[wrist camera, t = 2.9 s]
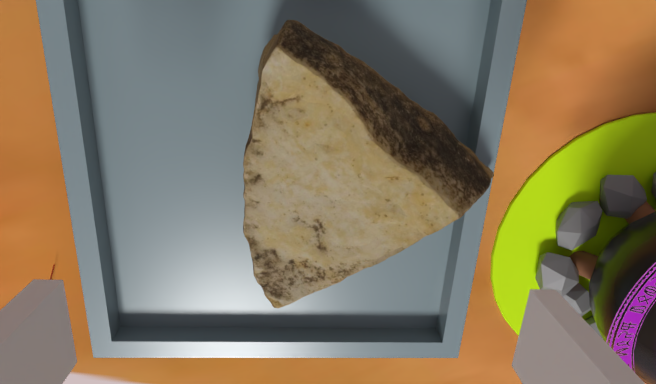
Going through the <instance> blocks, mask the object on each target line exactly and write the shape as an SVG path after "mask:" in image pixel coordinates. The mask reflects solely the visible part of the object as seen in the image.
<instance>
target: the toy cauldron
mask: <svg viewBox="0 0 656 384" xmlns="http://www.w3.org/2000/svg"><path fill="white" fill-rule="evenodd" d="M491 282H492V287H493V292H494V297H495V301H496V303H497V305H498V307H499V309H500V311H501V313H502V315H503V318H504V319H505V320H506V321H507V323H508V324H509V325H510V326H511V328H512V329H513V330H514V331H515V332H516V334H517V335H518V336H519V333H520V329H521V325H522V321H523V317H524V313H525V308H526V304H527V300H528V296H529V292H530V289H542V290H556V291H557V292H558V293H559V294H560V295H561V296H562V297H563V298H564V299H565V300H566V301H567V302H568V303H569V304H570V305H571V306H572V308H573V309H574V310H575V311H576V312H577V313H578V314H579V315H580V316H581V317H582V318H583V319H584V320H585V321H586V322H587V323H588V324H589V325H590V326H591V327H592V328H593V330H594V331H595V332H596V333H597V334H598V335H599V336H600V337H601V338H602V339H603V340H604V341H605V342H606V343H607V344H608V345H609V346H610V347H611V348H612V349H613V350H614V352H615V353H616V354H617V355H618V356H619V357H620V358H621V359H622V360H623V361H624V362H625V363H626V364H627V365H628V366H629V367H630V368H631V369H632V370H633V371H634V372H635V374H636V375H637V376H638V377H639V378H640V379H641V380H642V381H643V382H644V383H646V384H656V113H647V114H638V115H632V116H629V117H625V118H622V119H619V120H615V121H612V122H609V123H605V124H603V125H601V126H599V127H597V128H595V129H593V130H591V131H589V132H587V133H585V134H583V135H581V136H579V137H577V138H575V139H573V140H572V141H571V142H569V143H568V144H566V145H565V146H564V147H562V148H561V149H560V150H558V151H557V152H555V153H554V154H553V155H551V156H550V157H549V158H548V159H547V160H546V161H545V162H544V163H543V164H542V165H541V166H540V167H539V168H538V169H537V170H536V171H535V172H534V173H533V174H532V175H531V176H530V177H529V178H528V179H527V180H526V181H525V183H524V184H523V186H522V187H521V188H520V190H519V191H518V193H517V194H516V195H515V197H514V198H513V200H512V201H511V202H510V204H509V206H508V208H507V210H506V212H505V215H504V217H503V219H502V221H501V223H500V225H499V227H498V230H497V234H496V238H495V242H494V246H493V250H492V254H491Z"/></svg>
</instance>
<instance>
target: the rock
mask: <svg viewBox="0 0 656 384" xmlns="http://www.w3.org/2000/svg"><path fill="white" fill-rule="evenodd" d="M258 77H259V81H258V84H257V91H256V98H255V109H254V115H253V120H252V126H251V130H250V134H249V138H248V141H247V144H246V146H245V152H244V160H243V167H244V174H243V179H244V192H243V198H244V201H245V207H244V221H243V233H244V236H245V238H246V239H247V241H248V243H249V247H250V252H251V257H252V262H253V272H254V277H255V278H256V281H257V283H258V284H259V285H260V286H261V287H262V289H263V291H264V295H265V296H266V298H267V299H268V300H269V301H270V302H271V304H272V306H273V307H274V308H281V307H283V306H286V305H289V304H291V303H293V302H295V301H297V300H299V299H301V298H303V297H305V296H307V295H310V294H312V293H314V292H317V291H320V290H322V289H325V288H327V287H329V286H332V285H334V284H337V283H339V282H341V281H342V280H344V279H345V278H346V277H348V276H351V275H353V274H355V273H357V272H359V271H361V270H363V269H365V268H368V267H372V266H374V265H376V264H379V263H380V262H382V261H384V260H386V259H388V258H389V257H391V256H393V255H396V254H397V253H399V252H401V251H403V250H404V249H406V248H408V247H410V246H411V245H413V244H415V243H416V242H418V241H419V240H421V239H422V238H423V237H425V236H428V235H430V234H433V233H435V232H437V231H439V230H441V229H443V228H444V227H445V226H447V225H449V224H450V223H452V222H454V221H455V220H457V219H459V218H461V217H462V216H463V215H464V214H465V212H466V211H468V210H469V209H470V208H471V207H472V205H473V204H474V203H476V202H477V200H478V199H479V198H480V197H481V196H482V195H483V194H484V193H485V192H486V190H487V189H488V188H489V186H490V183H491V178H492V177H493V176H494V174H493V171H492V170H491V169H490V168H489V167H487V166H485V165H484V164H483V163H482V162H481V161H480V160H479V159H478V157H477V156H476V154H475V153H474V152H473V151H472V150H471V149H470V148H468V147H467V146H465V145H464V144H462V143H461V142H459V141H458V140H457V139H456V137H455V136H454V134H453V133H452V132H451V131H450V129H449V128H448V127H447V125H446V124H445V123H444V122H443V121H442V120H441V119H440V118H439V117H438V116H437V115H435V114H434V113H433V112H430V111H428V110H426V109H424V108H422V107H421V106H420V105H419V104H418V103H416V102H414V101H412V100H411V99H409V98H408V97H407V96H406V95H405V94H404V93H403V92H402V91H401V90H400V89H399V88H397V87H395V86H394V85H392V84H391V83H389V82H388V81H387V80H385V79H384V78H383V77H382V76H381V75H380V74H379V73H377V72H376V71H375V70H374V69H373V68H371V67H370V66H368V65H367V64H366V63H365V62H363V61H362V60H360V59H358V58H356V57H354V56H352V55H350V54H349V53H347V52H346V51H345V50H344V49H343V48H342V47H340V46H339V45H337V44H335V43H333V42H331V41H329V40H327V39H325V38H323V37H321V36H320V35H318V34H316V33H314V32H313V31H311V30H310V29H309V28H307V27H306V26H305V25H303V24H302V23H300V22H299V21H296V20H287V21H286V22H285V23H284V25H283V26H282V28H281V30H280V31H279V33H278V34H274V36H273V37H272V39H271V40H270V41H269V42H268V44H267V45H266V46H265V47H264V49H263V52H262V55H261V58H260V62H259V67H258Z"/></svg>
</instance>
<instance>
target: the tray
mask: <svg viewBox="0 0 656 384" xmlns="http://www.w3.org/2000/svg"><path fill="white" fill-rule="evenodd" d="M526 2H527V0H36V4H37V11H38V17H39V23H40V29H41V35H42V42H43V48H44V54H45V60H46V66H47V73H48V79H49V85H50V91H51V97H52V104H53V110H54V116H55V122H56V128H57V135H58V141H59V147H60V153H61V159H62V165H63V172H64V178H65V184H66V190H67V196H68V203H69V209H70V215H71V221H72V227H73V234H74V240H75V246H76V252H77V258H78V265H79V271H80V277H81V283H82V289H83V296H84V302H85V308H86V314H87V320H88V326H89V333H90V339H91V345H92V351H93V357H94V358H458V355H459V350H460V345H461V339H462V334H463V329H464V324H465V319H466V313H467V308H468V303H469V298H470V293H471V287H472V282H473V277H474V272H475V267H476V262H477V256H478V251H479V246H480V241H481V236H482V230H483V225H484V220H485V215H486V210H487V204H488V199H489V194H490V189H491V184H492V179H493V177H492V178H491V183H490V186H489V188H488V189H487V190H486V192H485V193H484V194H483V195H482V196H481V197H480V198H479V199H478V200H477V202H476V203H474V204H473V205H472V207H471V208H470V209H469V210H468V211H466V212H465V214H464V215H463V216H462V217H461V218H459V219H457V220H455V221H454V222H452V223H450V224H449V225H447V226H445V227H444V228H443V229H441V230H439V231H437V232H435V233H433V234H430V235H428V236H425V237H423V238H422V239H421V240H419V241H418V242H416V243H415V244H413V245H411V246H410V247H408V248H406V249H404V250H403V251H401V252H399V253H397V254H396V255H393V256H391V257H389V258H388V259H386V260H384V261H382V262H380V263H379V264H376V265H374V266H372V267H368V268H365V269H363V270H361V271H359V272H357V273H355V274H353V275H351V276H348V277H346V278H345V279H344V280H342V281H341V282H339V283H337V284H334V285H332V286H329V287H327V288H325V289H322V290H320V291H317V292H314V293H312V294H310V295H307V296H305V297H303V298H301V299H299V300H297V301H295V302H293V303H291V304H289V305H286V306H283V307H281V308H274V307H273V306H272V304H271V302H270V301H269V300H268V299H267V298H266V296H265V295H264V291H263V289H262V287H261V286H260V285H259V284H258V283H257V281H256V278H255V277H254V272H253V262H252V257H251V252H250V247H249V243H248V241H247V239H246V238H245V236H244V233H243V221H244V207H245V201H244V198H243V192H244V179H243V174H244V167H243V160H244V152H245V146H246V144H247V141H248V138H249V134H250V130H251V126H252V120H253V115H254V109H255V98H256V91H257V84H258V81H259V77H258V67H259V62H260V58H261V55H262V52H263V49H264V47H265V46H266V45H267V44H268V42H269V41H270V40H271V39H272V37H273V36H274V34H278V33H279V31H280V30H281V28H282V26H283V25H284V23H285V22H286V21H287V20H296V21H299V22H300V23H302V24H303V25H305V26H306V27H307V28H309V29H310V30H311V31H313V32H314V33H316V34H318V35H320V36H321V37H323V38H325V39H327V40H329V41H331V42H333V43H335V44H337V45H339V46H340V47H342V48H343V49H344V50H345V51H346V52H347V53H349V54H350V55H352V56H354V57H356V58H358V59H360V60H362V61H363V62H365V63H366V64H367V65H368V66H370V67H371V68H373V69H374V70H375V71H376V72H377V73H379V74H380V75H381V76H382V77H383V78H384V79H385V80H387V81H388V82H389V83H391V84H392V85H394V86H395V87H397V88H399V89H400V90H401V91H402V92H403V93H404V94H405V95H406V96H407V97H408V98H409V99H411V100H412V101H414V102H416V103H418V104H419V105H420V106H421V107H422V108H424V109H426V110H428V111H430V112H433V113H434V114H435V115H437V116H438V117H439V118H440V119H441V120H442V121H443V122H444V123H445V124H446V125H447V127H448V128H449V129H450V131H451V132H452V133H453V134H454V136H455V137H456V139H457V140H458V141H459V142H461V143H462V144H464V145H465V146H467V147H468V148H470V149H471V150H472V151H473V152H474V153H475V154H476V156H477V157H478V159H479V160H480V161H481V162H482V163H483V164H484V165H485V166H487V167H489V168H490V169H491V170H492V171H493V173H494V168H495V163H496V158H497V153H498V147H499V142H500V137H501V132H502V127H503V121H504V116H505V111H506V106H507V101H508V95H509V90H510V85H511V80H512V75H513V70H514V64H515V59H516V54H517V49H518V44H519V38H520V33H521V28H522V23H523V18H524V12H525V7H526Z"/></svg>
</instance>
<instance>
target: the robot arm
mask: <svg viewBox="0 0 656 384" xmlns="http://www.w3.org/2000/svg"><path fill="white" fill-rule="evenodd" d="M76 363H77V358H76V353H75V347H74V341H73V335H72V329H71V324H70V318H69V312H68V306H67V301H66V295H65V289H64V283H63V280H36V279H34V280H33V281H31V282H30V283H29V284H28V285H27V286H26V287H25V288H24V289H23V290H22V291H21V292H20V293H19V294H18V295H16V296H15V297H14V298H13V299H12V300H11V301H10V302H9V303H8V304H7V305H6V306H5V307H4V308H2V309H1V310H0V384H62V383H63V381H64V380H65V379H66V377H67V376H68V374H69V373H70V372H71V370H72V369H73V367H74V366H75V364H76ZM512 367H513V368H514V370H515V372H516V373H517V375H518V377H519V378H520V380H521V382H522V383H523V384H645V383H644V382H643V381H642V380H641V379H640V378H639V377H638V376H637V375H636V374H635V372H634V371H633V370H632V369H631V368H630V367H629V366H628V365H627V364H626V363H625V362H624V361H623V360H622V359H621V358H620V357H619V356H618V355H617V354H616V353H615V352H614V350H613V349H612V348H611V347H610V346H609V345H608V344H607V343H606V342H605V341H604V340H603V339H602V338H601V337H600V336H599V335H598V334H597V333H596V332H595V331H594V330H593V328H592V327H591V326H590V325H589V324H588V323H587V322H586V321H585V320H584V319H583V318H582V317H581V316H580V315H579V314H578V313H577V312H576V311H575V310H574V309H573V308H572V306H571V305H570V304H569V303H568V302H567V301H566V300H565V299H564V298H563V297H562V296H561V295H560V294H559V293H558V292H557V291H556V290H542V289H530V292H529V296H528V300H527V304H526V308H525V313H524V317H523V321H522V325H521V329H520V333H519V337H518V342H517V346H516V350H515V354H514V358H513V362H512Z"/></svg>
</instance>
